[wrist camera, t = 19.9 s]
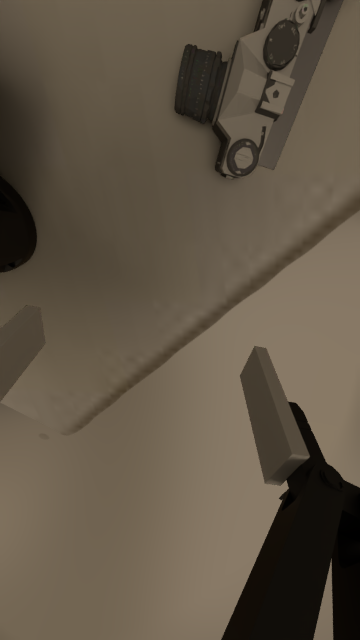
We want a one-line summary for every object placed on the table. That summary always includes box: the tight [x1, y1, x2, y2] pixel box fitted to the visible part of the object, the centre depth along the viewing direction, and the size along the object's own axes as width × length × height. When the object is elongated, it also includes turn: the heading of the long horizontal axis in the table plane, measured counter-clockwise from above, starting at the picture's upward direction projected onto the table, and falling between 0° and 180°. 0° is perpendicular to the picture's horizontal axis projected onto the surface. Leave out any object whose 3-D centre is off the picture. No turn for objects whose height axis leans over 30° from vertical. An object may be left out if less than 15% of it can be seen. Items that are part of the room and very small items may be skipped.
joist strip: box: [257, 0, 343, 170], centre depth 26 cm, size 4×17×1 cm, turn 165°
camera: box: [175, 0, 327, 180], centre depth 23 cm, size 16×10×10 cm, turn 165°
